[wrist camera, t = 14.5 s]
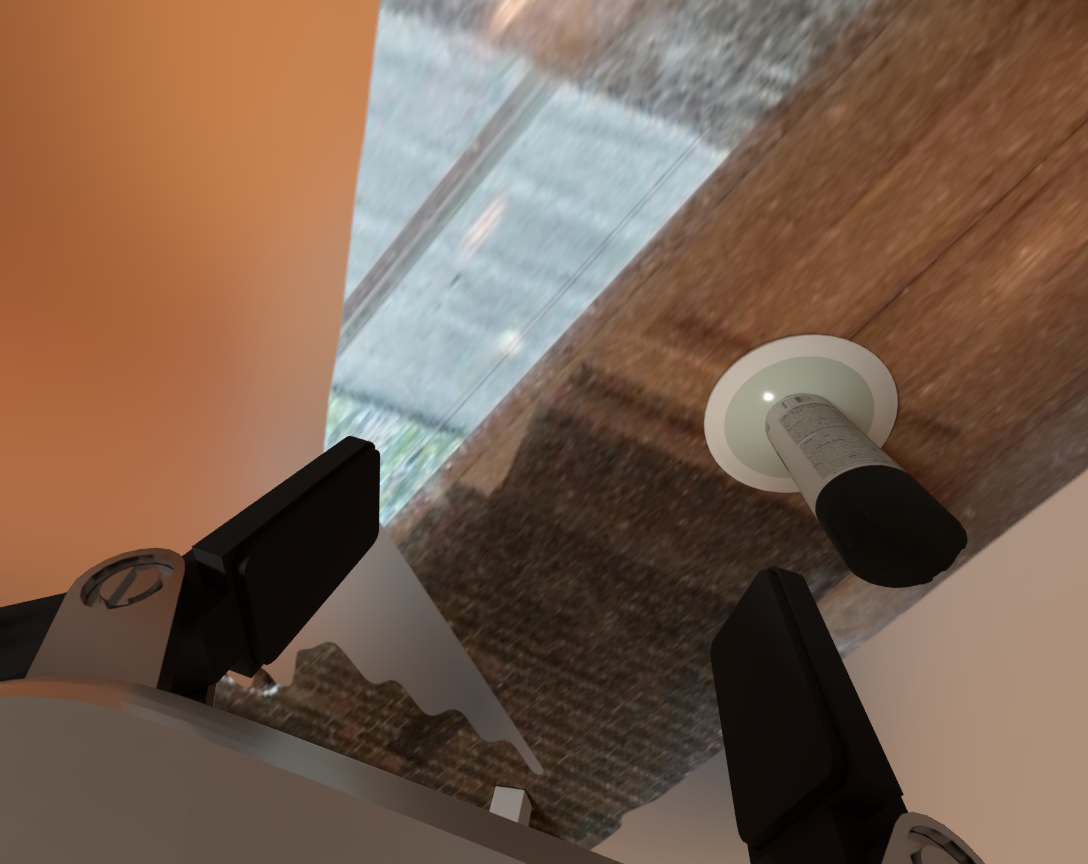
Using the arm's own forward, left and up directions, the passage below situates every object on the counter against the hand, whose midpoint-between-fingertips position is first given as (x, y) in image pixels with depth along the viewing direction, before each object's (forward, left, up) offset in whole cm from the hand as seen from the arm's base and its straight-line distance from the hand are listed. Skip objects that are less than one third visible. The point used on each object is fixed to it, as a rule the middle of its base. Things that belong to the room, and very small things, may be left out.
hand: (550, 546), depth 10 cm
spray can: (+6, +21, -37) cm, 43 cm away
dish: (+6, +21, -38) cm, 44 cm away
